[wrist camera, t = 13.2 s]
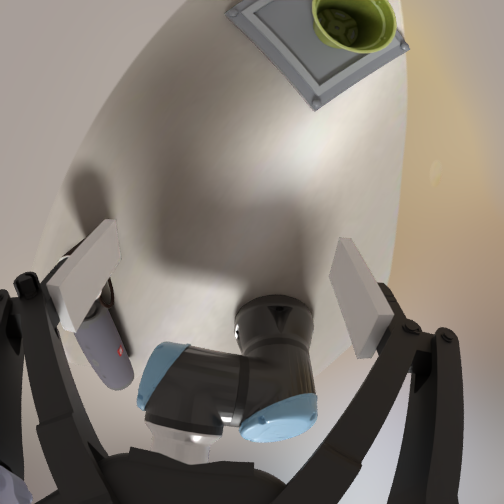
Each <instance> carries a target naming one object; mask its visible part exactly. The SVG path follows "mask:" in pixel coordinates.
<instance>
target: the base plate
mask: <svg viewBox="0 0 504 504" xmlns="http://www.w3.org/2000/svg"><path fill="white" fill-rule="evenodd" d="M335 14H338V15H340V16H342V17H345V15H343V14H340V13H337V12H336V13H335ZM225 16H226V17H227V18H228V19H229V20H230V21H231V22H233V23H234V24H235V25H236V26H237V27H238V28H239V29H240V30H241V31H242V32H243V33H244V34H245V35H246V36H247V37H248V38H249V39H250V40H251V41H252V42H253V43H254V44H255V45H256V46H257V47H258V48H259V49H260V50H261V51H262V52H263V53H264V54H265V55H266V57H267V58H268V59H269V60H270V61H271V62H272V63H273V64H274V65H275V66H276V67H277V68H278V70H279V71H280V72H281V73H282V74H283V75H284V76H285V78H286V79H287V80H288V81H289V82H290V83H291V84H292V86H293V87H294V88H295V89H296V90H297V92H298V93H299V94H300V95H301V96H302V98H303V99H304V100H305V101H306V103H307V104H308V105H309V106H310V108H311V109H312V110H313V111H316V110H318V109H319V108H321V107H322V106H323V105H325V104H326V103H328V102H329V101H331V100H332V99H333V98H335V97H336V96H338V95H339V94H341V93H342V92H344V91H345V90H347V89H348V88H350V87H351V86H353V85H354V84H356V83H357V82H359V81H360V80H362V79H363V78H365V77H366V76H368V75H369V74H371V73H372V72H374V71H376V70H377V69H379V68H380V67H382V66H384V65H385V64H387V63H388V62H390V61H392V60H393V59H395V58H397V57H398V56H400V55H402V54H403V53H405V52H407V51H408V50H410V48H409V45H408V44H407V43H406V42H405V41H404V39H403V38H402V36H401V35H400V33H399V32H398V31H397V29H396V33H395V36H394V38H393V40H392V42H391V43H390V44H389V45H388V46H387V47H386V48H384V49H382V50H380V51H377V52H373V53H355V52H351V51H348V50H345V49H338V48H333V47H330V46H327V45H326V44H324V43H323V42H322V41H320V39H319V38H318V37H317V35H316V34H315V32H314V29H313V22H314V18H313V14H312V0H243V1H241V2H240V3H238V4H237V5H235V6H234V7H233V8H231V9H230V10H228V11H227V12H226V13H225ZM321 20H322V18H319V22H321ZM335 29H339V27H337V26H336V27H335ZM354 35H355V34H354V31H353V32H352V35H351V37H350V38H351V39H353V38H354Z"/></svg>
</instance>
